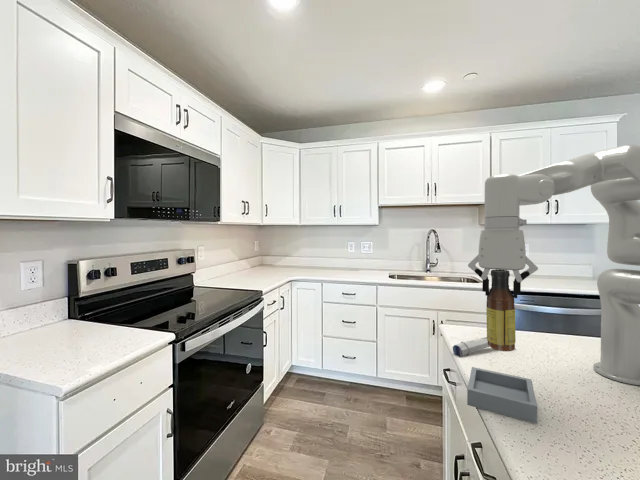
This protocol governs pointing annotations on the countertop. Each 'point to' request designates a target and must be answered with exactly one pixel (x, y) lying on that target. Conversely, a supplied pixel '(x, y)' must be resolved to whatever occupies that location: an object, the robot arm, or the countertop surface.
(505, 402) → the dock
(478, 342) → the electric cleaning brush
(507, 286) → the sauce bottle
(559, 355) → the countertop surface
